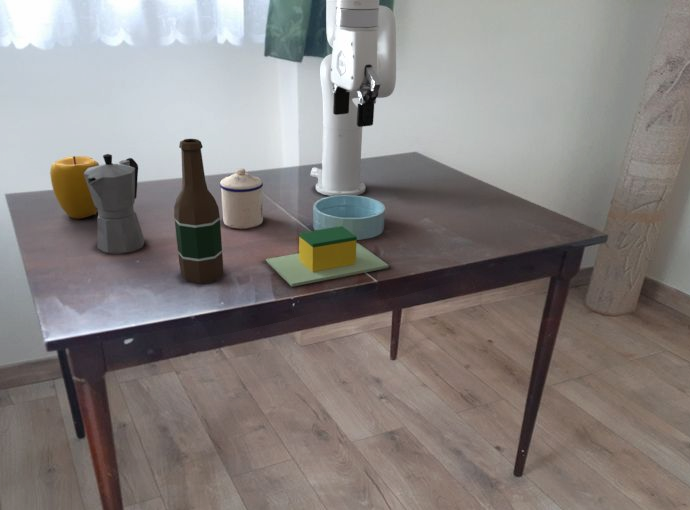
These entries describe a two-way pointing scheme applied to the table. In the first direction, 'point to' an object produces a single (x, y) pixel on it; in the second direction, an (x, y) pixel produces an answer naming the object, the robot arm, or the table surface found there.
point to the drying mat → (300, 274)
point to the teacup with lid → (242, 200)
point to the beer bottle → (197, 220)
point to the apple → (73, 186)
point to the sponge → (327, 248)
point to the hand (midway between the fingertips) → (352, 119)
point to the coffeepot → (115, 205)
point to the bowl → (350, 215)
